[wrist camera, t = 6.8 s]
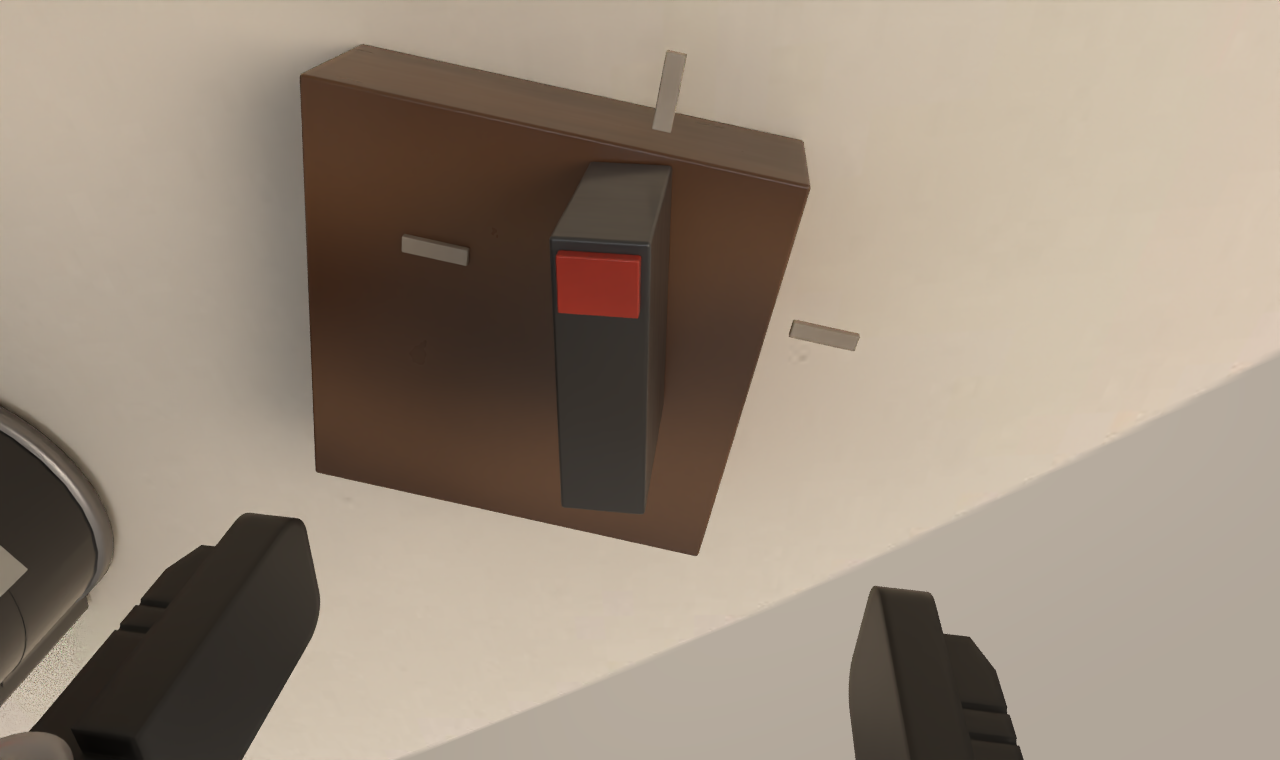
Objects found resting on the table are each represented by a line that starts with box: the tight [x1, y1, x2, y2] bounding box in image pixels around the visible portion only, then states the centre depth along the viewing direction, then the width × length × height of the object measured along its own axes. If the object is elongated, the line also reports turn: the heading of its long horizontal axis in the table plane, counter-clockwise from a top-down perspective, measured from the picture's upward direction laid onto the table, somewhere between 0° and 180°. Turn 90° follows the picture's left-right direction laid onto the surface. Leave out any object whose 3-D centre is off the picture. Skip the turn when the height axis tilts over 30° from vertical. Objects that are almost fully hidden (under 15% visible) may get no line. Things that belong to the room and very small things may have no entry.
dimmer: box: [300, 45, 860, 556], centre depth 19 cm, size 12×12×3 cm
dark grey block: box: [549, 162, 672, 515], centre depth 16 cm, size 6×2×4 cm, turn 179°
